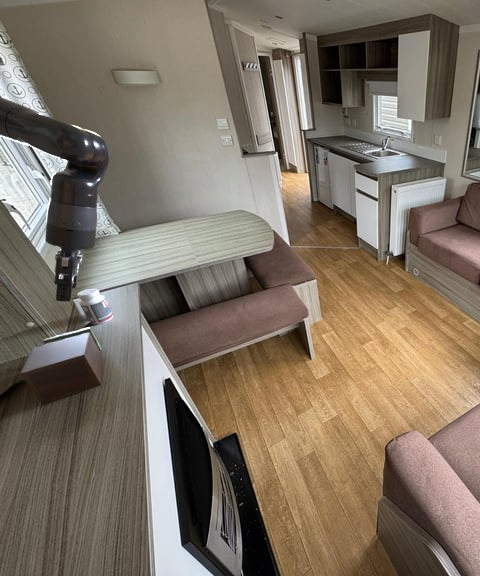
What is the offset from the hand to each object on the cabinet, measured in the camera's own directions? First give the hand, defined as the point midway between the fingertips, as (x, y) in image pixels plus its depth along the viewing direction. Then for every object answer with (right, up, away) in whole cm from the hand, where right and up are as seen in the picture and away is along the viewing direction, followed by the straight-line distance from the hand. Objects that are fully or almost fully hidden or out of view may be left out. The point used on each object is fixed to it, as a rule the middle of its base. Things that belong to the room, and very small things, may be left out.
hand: (66, 294), depth 69 cm
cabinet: (0, -20, +2) cm, 20 cm away
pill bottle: (-16, -9, +26) cm, 31 cm away
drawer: (-4, -17, +6) cm, 19 cm away
